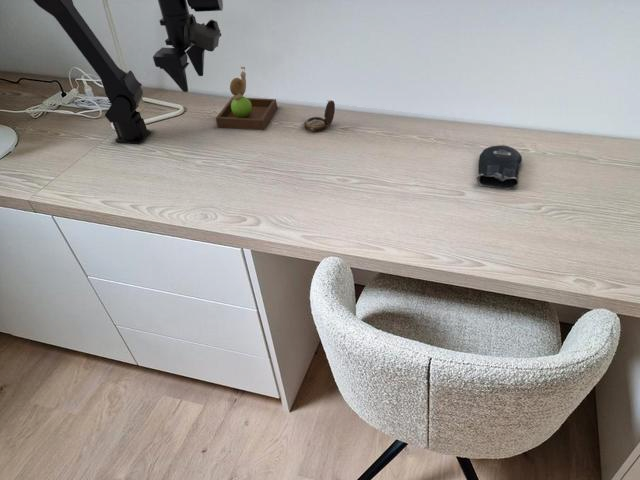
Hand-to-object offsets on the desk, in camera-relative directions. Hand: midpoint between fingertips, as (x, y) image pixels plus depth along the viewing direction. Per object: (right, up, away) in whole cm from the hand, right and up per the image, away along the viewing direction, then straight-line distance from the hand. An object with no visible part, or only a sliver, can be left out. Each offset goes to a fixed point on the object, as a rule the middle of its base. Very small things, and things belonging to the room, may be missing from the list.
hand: (193, 83), depth 117 cm
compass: (+29, -8, +10) cm, 32 cm away
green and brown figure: (+9, -3, +15) cm, 17 cm away
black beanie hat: (+71, -22, -6) cm, 75 cm away
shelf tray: (+10, -3, +15) cm, 18 cm away
